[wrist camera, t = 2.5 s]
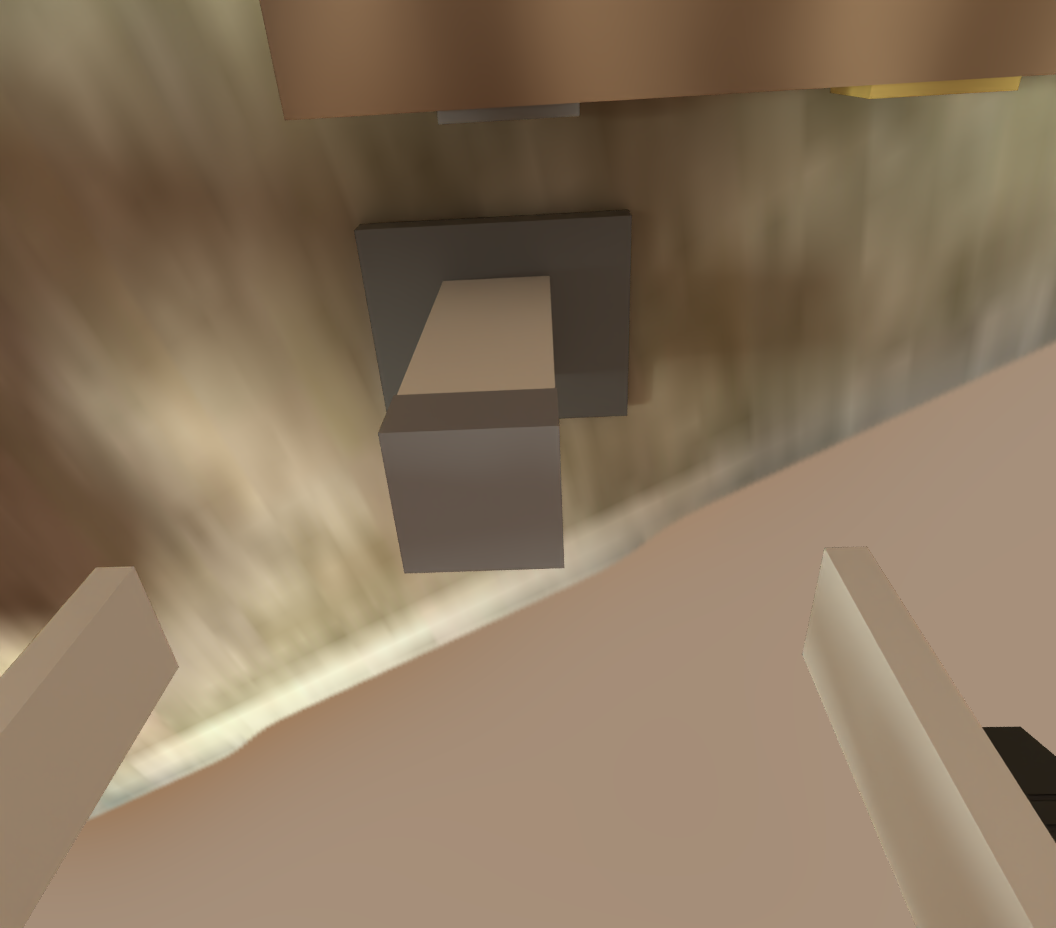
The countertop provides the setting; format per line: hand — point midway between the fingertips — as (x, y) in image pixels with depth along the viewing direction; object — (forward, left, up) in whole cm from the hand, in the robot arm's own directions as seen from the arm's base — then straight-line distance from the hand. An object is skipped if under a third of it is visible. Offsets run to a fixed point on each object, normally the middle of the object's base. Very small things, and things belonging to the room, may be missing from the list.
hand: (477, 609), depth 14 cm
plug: (0, 0, -16) cm, 16 cm away
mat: (0, 0, -17) cm, 17 cm away
